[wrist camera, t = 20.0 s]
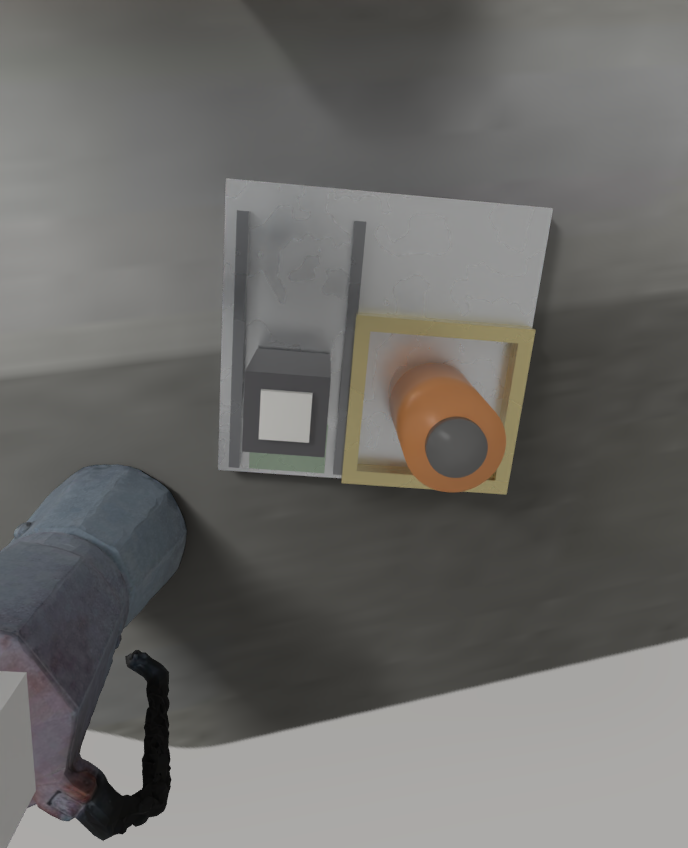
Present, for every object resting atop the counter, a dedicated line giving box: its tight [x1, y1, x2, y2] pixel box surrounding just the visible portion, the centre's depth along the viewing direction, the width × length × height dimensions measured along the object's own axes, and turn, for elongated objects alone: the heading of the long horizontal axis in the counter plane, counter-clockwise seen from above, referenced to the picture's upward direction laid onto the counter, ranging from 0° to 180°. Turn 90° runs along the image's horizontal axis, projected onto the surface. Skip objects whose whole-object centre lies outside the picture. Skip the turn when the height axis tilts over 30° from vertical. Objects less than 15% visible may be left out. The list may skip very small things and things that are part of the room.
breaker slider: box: [242, 348, 331, 457], centre depth 33 cm, size 4×4×6 cm
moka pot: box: [0, 465, 187, 840], centre depth 30 cm, size 10×15×20 cm, turn 56°
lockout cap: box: [390, 363, 506, 492], centre depth 33 cm, size 5×5×8 cm
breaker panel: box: [218, 178, 553, 495], centre depth 35 cm, size 16×17×3 cm
